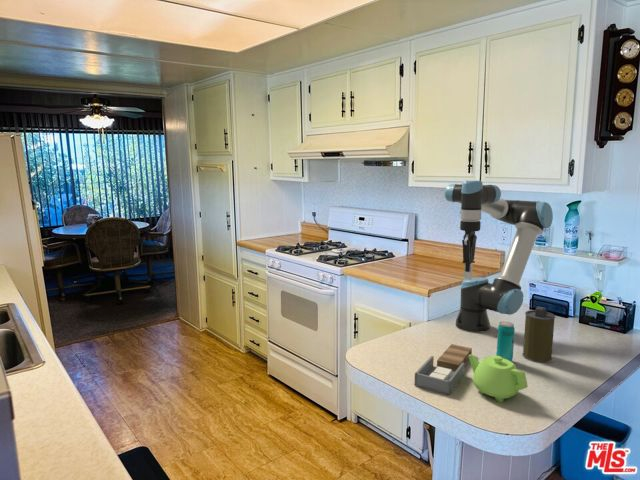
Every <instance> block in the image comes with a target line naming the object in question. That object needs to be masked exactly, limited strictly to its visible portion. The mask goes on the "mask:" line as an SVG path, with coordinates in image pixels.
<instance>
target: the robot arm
mask: <svg viewBox="0 0 640 480" xmlns="http://www.w3.org/2000/svg"><path fill="white" fill-rule="evenodd" d="M499 187H500V186H499ZM499 187H498V185H495V184H483V182H482V180H464V181H463V182H462V184H457V183H453V184H452V183H451V184H448V185H447V186H446V187H445V191H444V197H445V200H446V201H448V202H452V203H458V204H461V205H460V206H461V207H460V211H459V214H460V225H459V226H460V227H459V229H460V230H461V231H463V232H464V235H463V239H462V240H461V243H462V264H464V271H463V273H464V274H463V275H464V276H463V280H461V285H460V301H459V302H460V305H459V307H460V308H459V311H458V314H457V316H456V319H455V326H456V328H457V329H459V330H462V331H464V332H465V331H466V332H471V333H485V332H488V331H489V330H491V329H490V328H491V322H490V319H489V316H488V311H493V312H495V313H499V314H501V315H502V314H503V315H509V316H510V315H514V314H515V313H517V312H519V310H520V309H521V307H522V305H523V303H524V297H525V296H524V292H523V291H522V286H521V284H520V282H521V280H522V277H523V274H524V272H525V269H526V266H527V265H528V261H529V259H530V255H531V253H532V250H533V247H534V244H535V242H536V239H537V237H538V236H540V235H542V233H543V231H544V229H549V228H551V226H552V224H553V219H554V218H553V214H554V213H553V209H552V207H551V204H550V203H549V202H546V201H540V200H537V201H536V200H534V201H533V200H532V201H531V200H518V199H517V200H515V199H513V200H511V199H504V198H501V197H502V196H501V195H502V191H501V189H500V188H499ZM482 212H483V213H486V214H488V215H489V216H490V217H491V218H493V219H496V220H498V221H501V222H503V223H506V224H508V225H513V226H514V227H515V229H516V232H515V235H514V237H513V239H512V242H511V244H510V245H511V246H510V248H509V251H508V253H507V256H506V258H505V260H504V263H503V266H502V268H501V271H500V273H499V276H497V277H494V279H493V282H492V283H490V281H489V278H487V277H479V276H478V277H473V264H475V263H476V261H475V253H476V246H477V245H476V244H477V238H478V236H477V235H476V232H480V231H481V224H482V222H481V221H480V220H481V219H482ZM487 310H488V311H487Z"/></svg>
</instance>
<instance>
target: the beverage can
mask: <svg viewBox="0 0 640 480" xmlns="http://www.w3.org/2000/svg"><path fill="white" fill-rule="evenodd" d="M514 326H515V324H514V323H512V322H510V321H500V322H499V323H498V326H497V340H496V341H497V342H496V356H500V357H502V358H504V359H506V360H509V361H511V362H512V361H513V359H514V343H515V327H514Z"/></svg>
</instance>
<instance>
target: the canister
mask: <svg viewBox="0 0 640 480" xmlns="http://www.w3.org/2000/svg"><path fill="white" fill-rule="evenodd" d="M524 315H525V321H524V334H523V335H524V336H523V349H522V354H521V355H522V357H524V359H526V360H528V361H531V362H534V363H549V362H551V361H552V360H553V354H552V353H553V343H554V331H555V319H556V315H555V314H554V313H552V312H548V311H547V309H546V307H543V306H539V305H538V306H537V305H536V308H535V310H533V309H532V310H527V311H525V313H524Z"/></svg>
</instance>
